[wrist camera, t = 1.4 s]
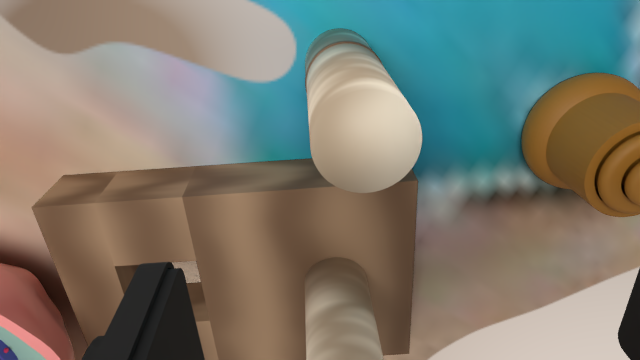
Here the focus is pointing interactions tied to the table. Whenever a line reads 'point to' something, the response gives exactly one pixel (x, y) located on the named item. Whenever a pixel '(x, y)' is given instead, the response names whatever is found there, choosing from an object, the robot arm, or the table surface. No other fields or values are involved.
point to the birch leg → (357, 115)
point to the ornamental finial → (588, 141)
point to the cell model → (30, 319)
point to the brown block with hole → (244, 255)
